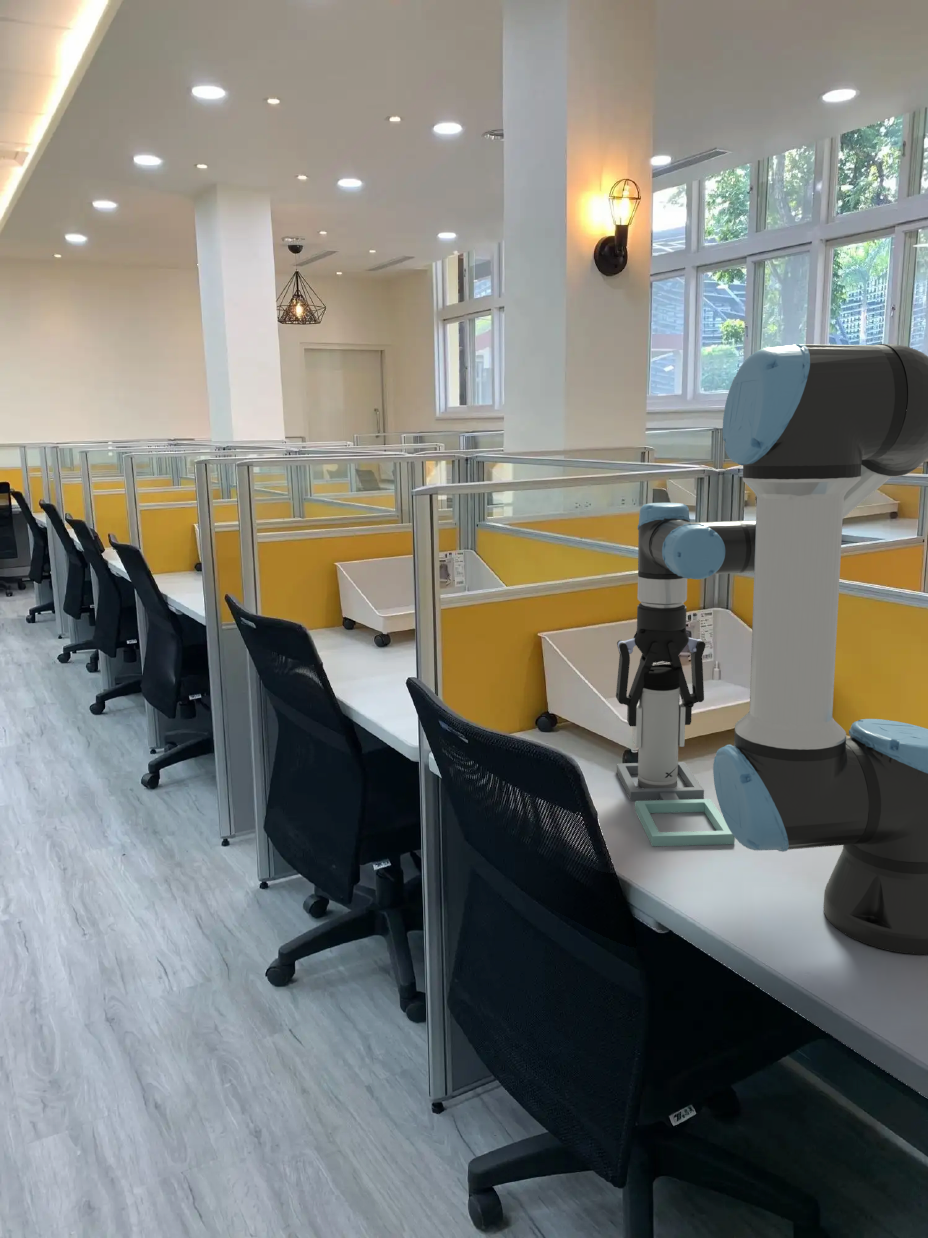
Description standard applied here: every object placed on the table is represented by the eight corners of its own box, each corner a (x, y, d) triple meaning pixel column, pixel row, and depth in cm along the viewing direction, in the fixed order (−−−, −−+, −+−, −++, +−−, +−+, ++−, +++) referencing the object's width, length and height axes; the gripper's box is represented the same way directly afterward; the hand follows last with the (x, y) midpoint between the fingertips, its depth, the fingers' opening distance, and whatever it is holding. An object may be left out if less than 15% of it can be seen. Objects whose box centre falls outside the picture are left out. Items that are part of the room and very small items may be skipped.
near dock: (734, 844, 128) (734, 834, 128) (652, 846, 128) (652, 836, 128) (710, 808, 140) (710, 799, 140) (635, 810, 140) (635, 801, 140)
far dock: (710, 808, 140) (710, 799, 140) (635, 810, 140) (635, 801, 140) (684, 770, 156) (684, 761, 156) (616, 772, 156) (616, 763, 156)
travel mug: (679, 793, 146) (683, 671, 142) (637, 791, 148) (639, 669, 144) (678, 779, 152) (682, 661, 148) (638, 776, 154) (640, 660, 150)
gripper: (716, 597, 148) (711, 735, 152) (596, 599, 148) (595, 738, 152) (730, 606, 140) (724, 750, 145) (604, 608, 140) (602, 753, 145)
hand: (658, 744), depth 149 cm, fingers closed on travel mug, 6 cm apart
